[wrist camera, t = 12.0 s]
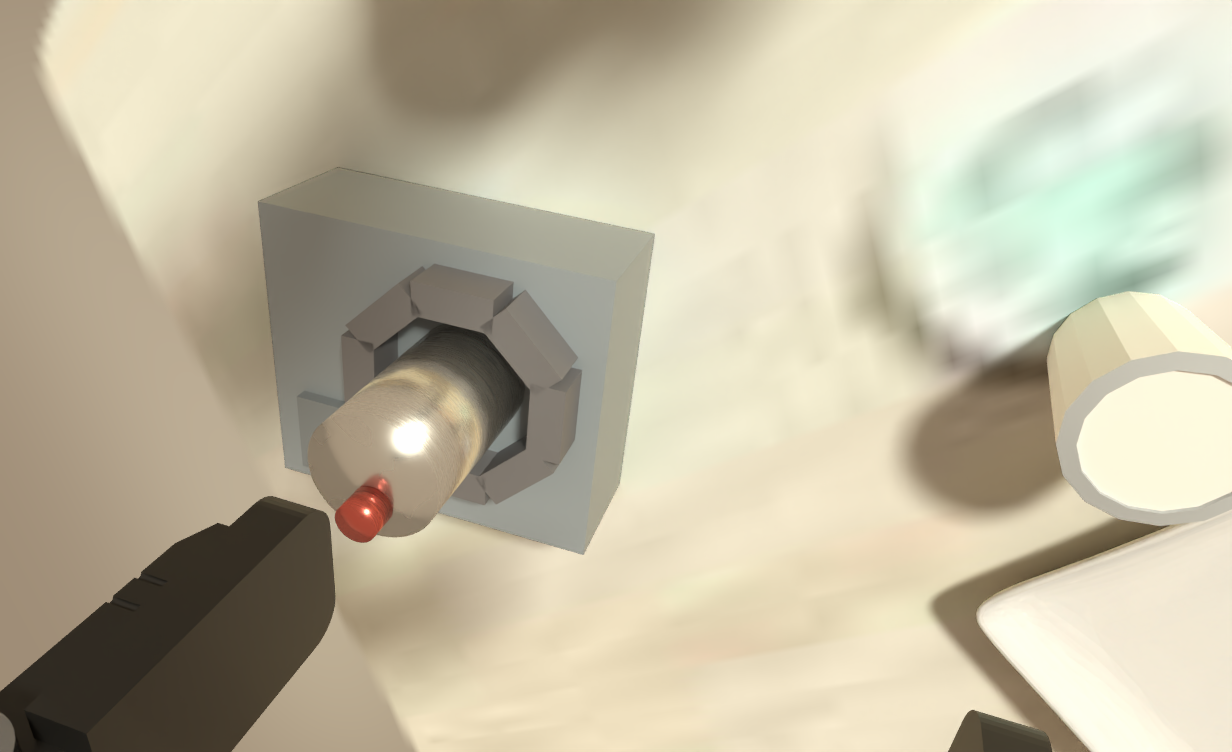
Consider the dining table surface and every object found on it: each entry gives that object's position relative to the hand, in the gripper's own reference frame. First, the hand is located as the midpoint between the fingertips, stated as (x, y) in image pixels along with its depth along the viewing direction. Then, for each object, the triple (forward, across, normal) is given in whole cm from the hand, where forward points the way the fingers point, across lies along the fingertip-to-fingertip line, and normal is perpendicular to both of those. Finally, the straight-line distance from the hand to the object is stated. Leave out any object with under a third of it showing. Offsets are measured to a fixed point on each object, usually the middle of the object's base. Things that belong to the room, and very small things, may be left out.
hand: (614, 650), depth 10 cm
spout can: (+22, +12, +11) cm, 27 cm away
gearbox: (+28, +14, +14) cm, 34 cm away
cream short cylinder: (+28, -14, +6) cm, 32 cm away
